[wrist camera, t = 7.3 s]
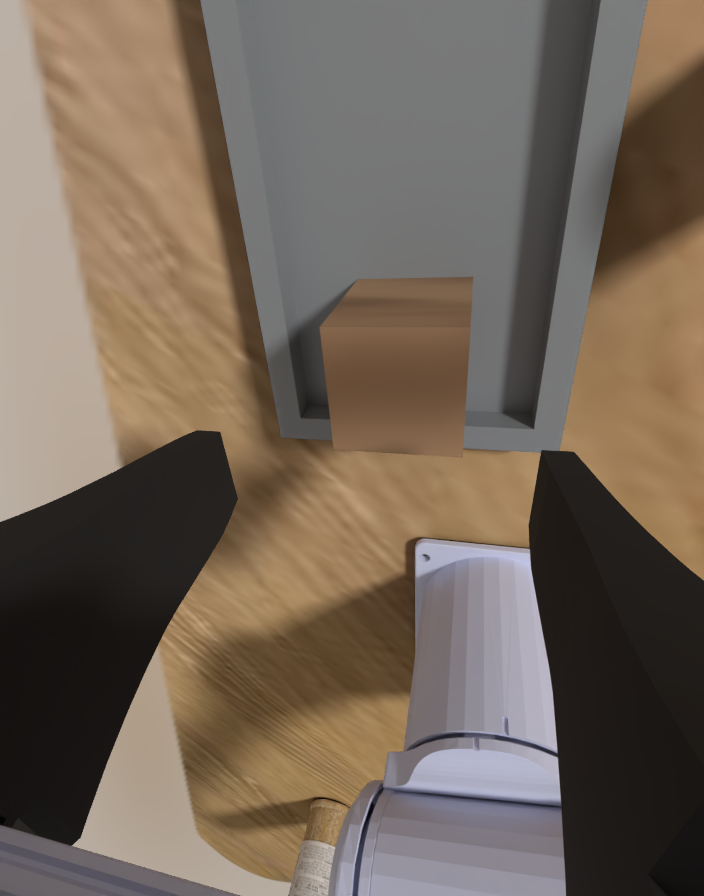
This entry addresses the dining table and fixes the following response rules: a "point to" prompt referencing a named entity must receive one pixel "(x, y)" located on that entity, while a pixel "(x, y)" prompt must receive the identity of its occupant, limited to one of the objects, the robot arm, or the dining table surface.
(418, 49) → the tray
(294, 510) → the dining table surface
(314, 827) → the sprinkles bottle
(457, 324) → the walnut block
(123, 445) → the dining table surface
